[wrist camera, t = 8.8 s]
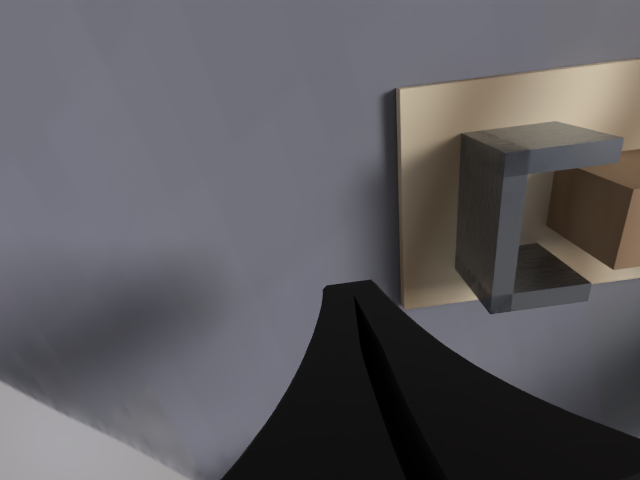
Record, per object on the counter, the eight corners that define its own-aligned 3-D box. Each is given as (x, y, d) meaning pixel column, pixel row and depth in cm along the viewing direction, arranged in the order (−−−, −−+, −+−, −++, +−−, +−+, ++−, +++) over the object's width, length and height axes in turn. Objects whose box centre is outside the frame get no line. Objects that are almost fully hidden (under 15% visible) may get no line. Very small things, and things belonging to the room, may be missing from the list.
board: (846, 32, 15) (866, 31, 15) (752, 255, 20) (765, 260, 19) (395, 88, 15) (400, 89, 14) (400, 302, 19) (404, 309, 19)
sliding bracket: (555, 120, 15) (624, 137, 12) (535, 258, 18) (587, 300, 15) (461, 133, 15) (505, 152, 12) (454, 268, 18) (490, 314, 15)
